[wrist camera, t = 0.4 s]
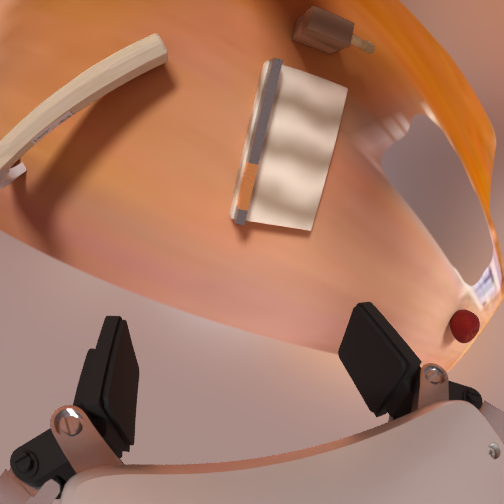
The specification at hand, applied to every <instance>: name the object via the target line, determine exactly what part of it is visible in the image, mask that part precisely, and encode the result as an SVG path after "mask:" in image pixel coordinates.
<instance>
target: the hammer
mask: <svg viewBox="0 0 504 504" xmlns="http://www.w3.org/2000/svg"><path fill="white" fill-rule="evenodd" d="M167 61H168V51H167V49H166V47H165V45H164V43H163V41H162V39H161V38H160V37H159V35H158V34H156V33H155V34H153V35H150V36H148V37H146V38H144V39H142V40H140V41H138V42H135V43H133V44H131V45H129V46H127V47H126V48H124V49H122V50H120V51H118V52H116V53H114V54H113V55H111V56H109V57H107V58H105V59H104V60H102V61H100V62H99V63H97V64H95V65H94V66H92V67H90V68H89V69H87V70H86V71H84V72H82V73H81V74H80V75H78V76H77V77H76V78H74V79H73V80H72V81H70V82H69V83H68V84H66V85H65V86H63V87H62V88H61V89H59V90H58V91H56V92H55V93H54V94H53V95H51V96H50V97H49V98H47V99H46V100H45V101H44V102H42V103H41V104H40V105H39V106H37V107H36V108H35V109H34V110H33V111H32V112H30V113H29V114H28V115H27V116H26V117H25V118H24V119H23V120H22V121H20V122H19V123H18V124H17V125H16V126H15V127H14V128H13V129H12V130H11V131H10V132H9V133H8V134H7V135H6V136H5V137H4V138H3V139H2V140H1V141H0V189H1V188H4V187H5V186H7V185H8V184H10V183H11V182H13V181H14V180H15V179H16V178H18V177H19V176H20V175H21V174H23V173H24V172H25V171H26V168H25V166H24V164H23V162H22V163H20V164H19V165H17V166H15V167H14V168H11V169H9V168H10V167H11V166H12V165H13V164H14V163H15V162H16V161H18V160H19V159H20V157H21V156H22V155H24V154H25V153H26V152H27V151H28V150H29V149H30V148H31V147H33V146H34V145H35V144H36V143H37V142H38V141H40V140H41V139H42V138H43V137H44V136H46V135H47V134H48V133H49V132H51V131H52V130H53V129H54V128H56V127H57V126H58V125H60V124H61V123H62V122H64V121H65V120H67V119H68V118H69V117H71V116H72V115H74V114H75V113H77V112H78V111H80V110H82V109H83V108H85V107H86V106H88V105H90V104H91V103H93V102H94V101H96V100H98V99H99V98H101V97H102V96H104V95H106V94H107V93H109V92H111V91H112V90H114V89H116V88H117V87H119V86H121V85H123V84H124V83H126V82H128V81H130V80H132V79H134V78H135V77H137V76H139V75H141V74H143V73H145V72H147V71H149V70H151V69H153V68H155V67H157V66H159V65H162V64H164V63H166V62H167Z"/></svg>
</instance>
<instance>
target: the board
mask: <svg viewBox="0 0 504 504" xmlns="http://www.w3.org/2000/svg"><path fill="white" fill-rule="evenodd" d="M268 65H269V61H266V62H265V63H264V64H263V68H262V72H261V76H260V80H259V84H258V88H257V92H256V96H255V100H254V104H253V109H252V113H251V117H250V122H249V126H248V130H247V135H246V139H245V143H244V148H243V152H242V157H241V161H240V166H239V171H238V175H237V180H236V185H235V189H234V194H233V199H232V204H231V209H230V217H231V219H234V214H235V209H236V204H237V199H238V195H239V190H240V185H241V181H242V176H243V172H244V167H245V163H246V158H247V154H248V149H249V145H250V140H251V136H252V132H253V127H254V123H255V119H256V114H257V110H258V106H259V102H260V98H261V94H262V89H263V85H264V81H265V77H266V73H267V69H268ZM347 91H348V88H346V87H343V86H341V85H339V84H336V83H334V82H331V81H329V80H326V79H323V78H321V77H318V76H315V75H312V74H310V73H307V72H304V71H301V70H298V69H295V68H291V67H288V66H285V65H282V67H281V71H280V75H279V79H278V83H277V87H276V92H275V96H274V100H273V104H272V108H271V112H270V117H269V121H268V125H267V129H266V134H265V138H264V142H263V146H262V151H261V155H260V159H259V164H258V168H257V172H256V177H255V181H254V185H253V190H252V194H251V199H250V203H249V208H248V212H247V217H246V221H251V222H258V223H265V224H271V225H278V226H284V227H291V228H297V229H303V230H309V231H311V229H312V225H313V222H314V219H315V215H316V212H317V208H318V205H319V201H320V198H321V194H322V191H323V187H324V184H325V180H326V176H327V173H328V169H329V165H330V161H331V157H332V154H333V150H334V146H335V142H336V138H337V134H338V130H339V126H340V121H341V117H342V113H343V109H344V104H345V100H346V95H347Z"/></svg>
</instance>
